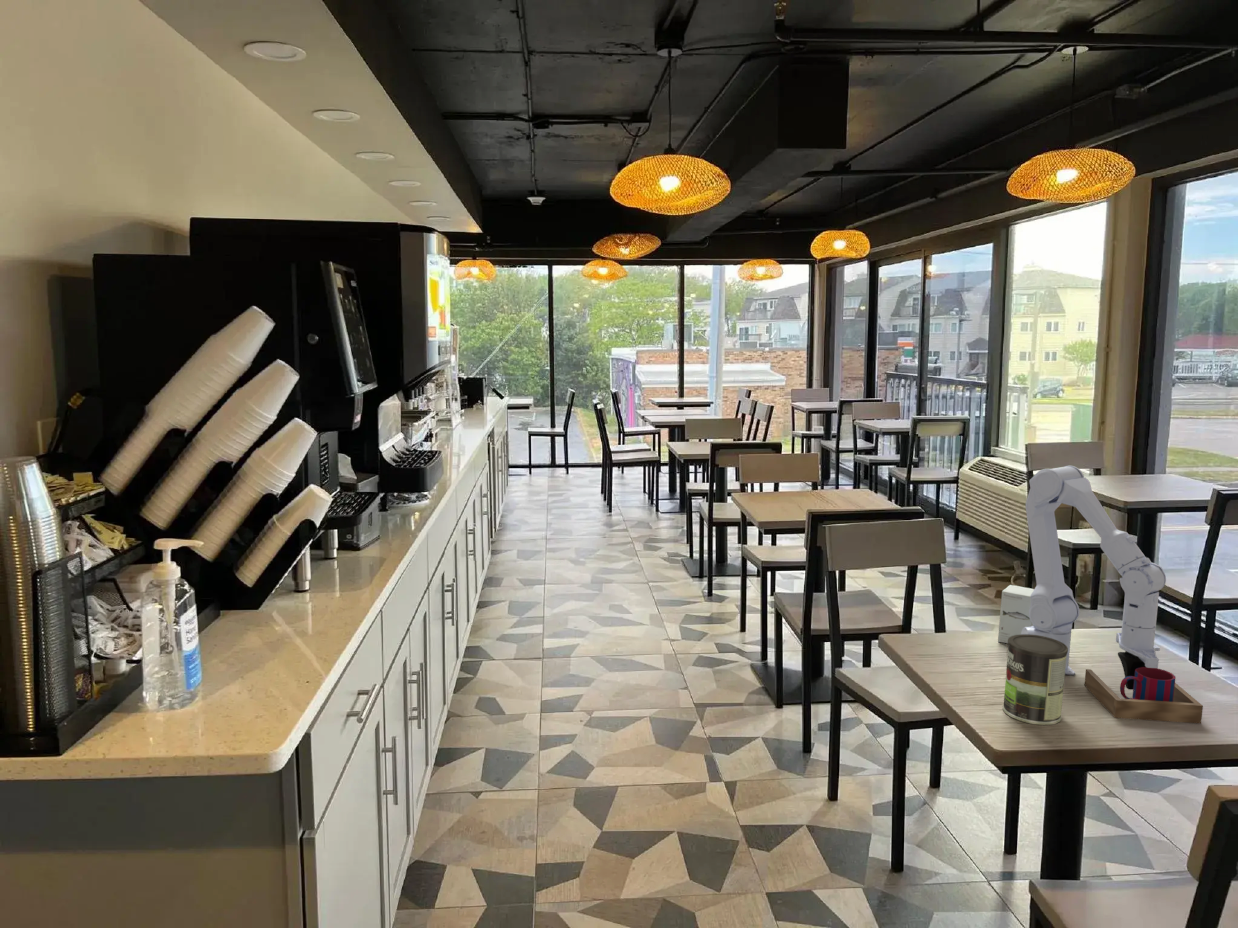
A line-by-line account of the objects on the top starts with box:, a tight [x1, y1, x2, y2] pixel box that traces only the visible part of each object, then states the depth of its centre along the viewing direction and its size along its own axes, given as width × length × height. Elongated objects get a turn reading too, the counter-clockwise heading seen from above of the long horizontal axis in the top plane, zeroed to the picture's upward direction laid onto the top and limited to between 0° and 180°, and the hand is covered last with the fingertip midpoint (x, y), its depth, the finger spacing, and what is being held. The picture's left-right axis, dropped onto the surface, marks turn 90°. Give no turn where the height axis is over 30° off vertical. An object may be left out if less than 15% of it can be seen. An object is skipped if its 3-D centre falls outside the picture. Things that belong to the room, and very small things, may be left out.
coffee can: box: [1002, 634, 1068, 726], centre depth 164 cm, size 10×10×14 cm
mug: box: [1119, 667, 1176, 702], centre depth 168 cm, size 7×10×7 cm
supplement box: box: [997, 584, 1035, 644], centre depth 203 cm, size 7×7×13 cm
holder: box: [1084, 668, 1204, 724], centre depth 170 cm, size 15×16×4 cm
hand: (1132, 688), depth 173 cm, fingers closed
